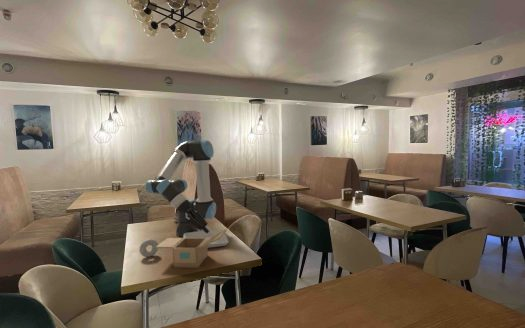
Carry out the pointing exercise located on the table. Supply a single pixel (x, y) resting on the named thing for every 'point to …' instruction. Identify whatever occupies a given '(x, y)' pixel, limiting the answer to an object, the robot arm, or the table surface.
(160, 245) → the carton
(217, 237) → the flap
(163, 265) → the table surface
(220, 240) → the square plate
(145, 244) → the donut
